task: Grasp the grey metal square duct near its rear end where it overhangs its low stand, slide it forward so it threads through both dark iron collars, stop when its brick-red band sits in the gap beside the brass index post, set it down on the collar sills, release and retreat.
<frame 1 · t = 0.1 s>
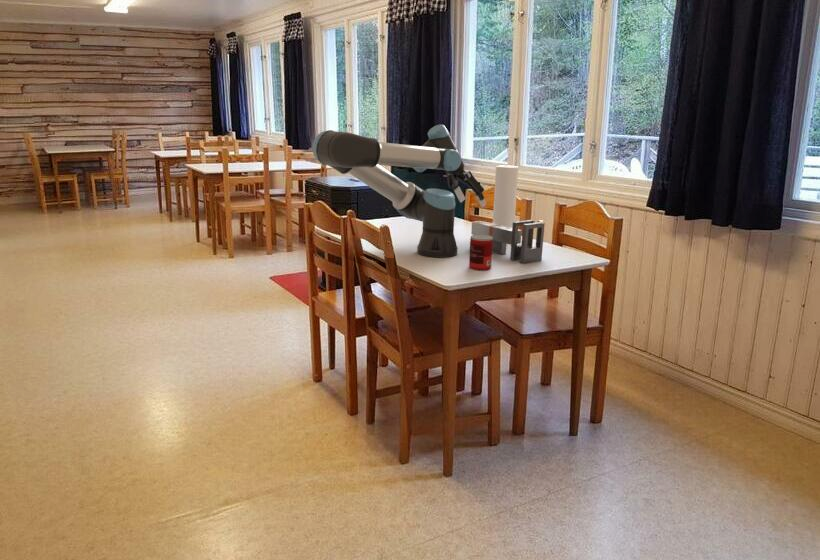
hand: (473, 203, 256), 15 cm above the table, tool tilted 35°, fingers open, 13 cm apart
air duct: (495, 238, 237), point 5 cm above the table, touching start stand
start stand: (493, 251, 239), on the table
collar stand: (525, 260, 225), on the table
canned food: (479, 268, 213), on the table
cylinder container: (502, 235, 270), on the table
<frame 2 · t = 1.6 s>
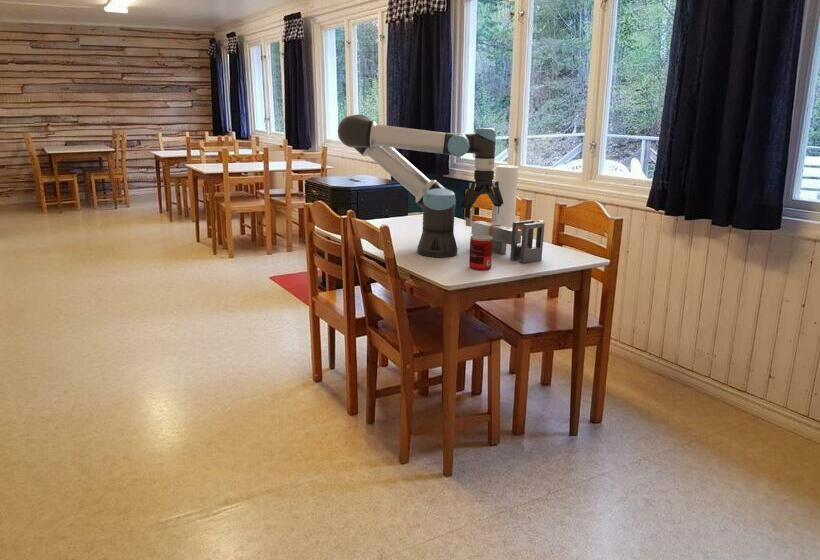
hand: (481, 224, 242), 9 cm above the table, tool pointing down, fingers open, 13 cm apart
nothing on the table moved.
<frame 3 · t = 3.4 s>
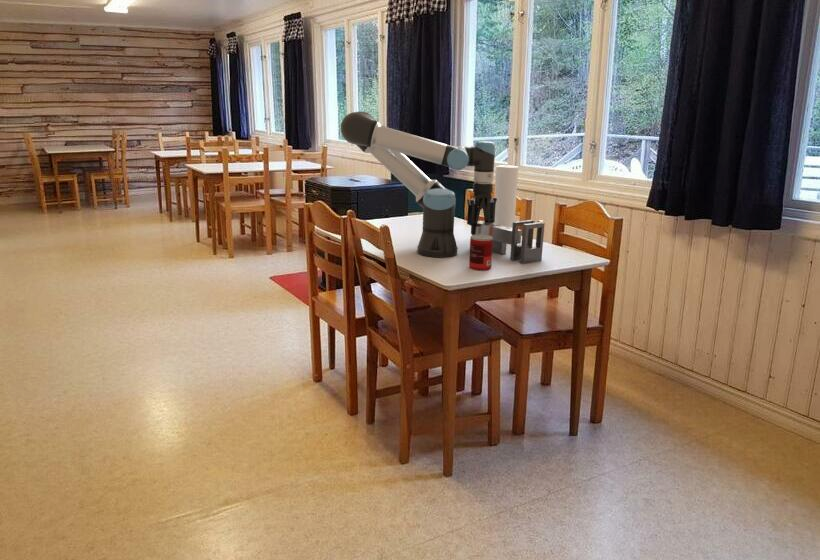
hand: (479, 241, 244), 2 cm above the table, tool pointing down, fingers closed on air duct, 5 cm apart
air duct: (495, 238, 237), point 5 cm above the table, touching gripper, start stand
everything else where it was.
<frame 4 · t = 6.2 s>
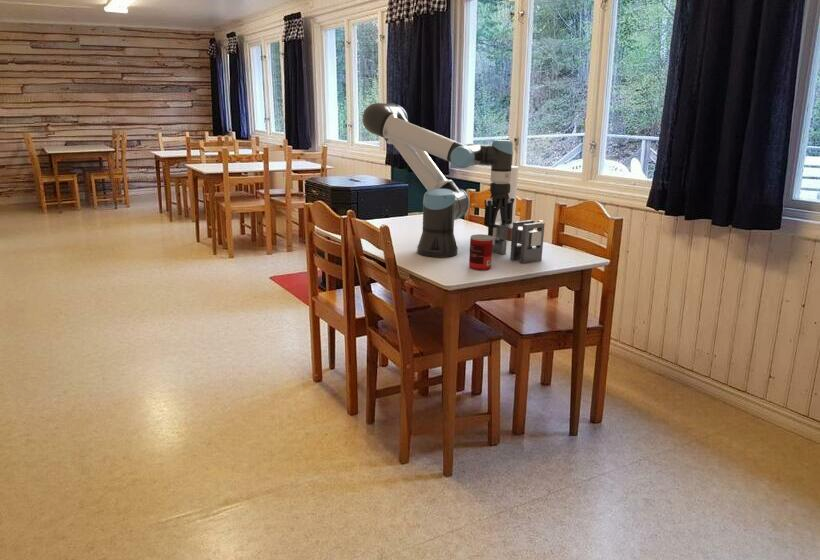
hand: (496, 243, 237), 3 cm above the table, tool pointing down, fingers closed on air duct, 5 cm apart
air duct: (513, 240, 229), point 6 cm above the table, touching gripper
everything else where it was.
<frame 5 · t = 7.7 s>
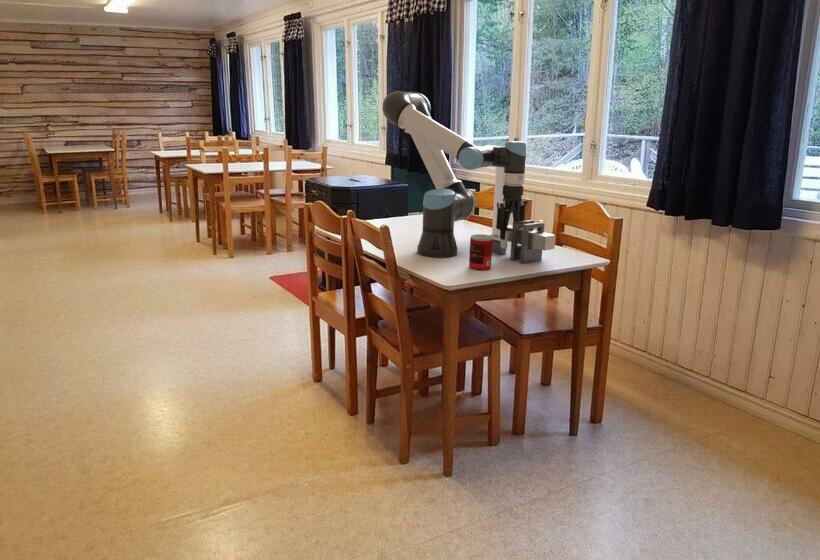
hand: (509, 246, 232), 3 cm above the table, tool pointing down, fingers closed on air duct, 5 cm apart
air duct: (526, 243, 224), point 6 cm above the table, touching gripper
everything else where it was.
when the fingers open (3 cm above the table, at t = 9.0 s): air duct stays where it is, resting on collar stand.
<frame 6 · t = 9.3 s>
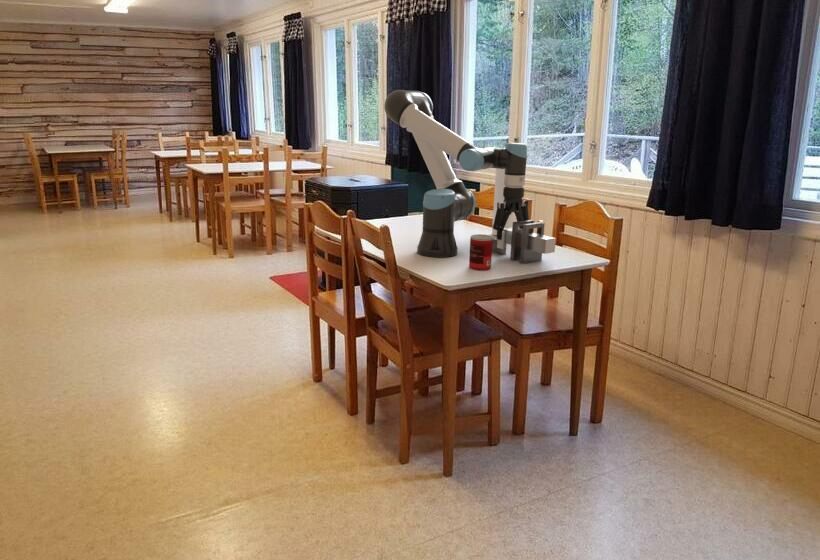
hand: (509, 246, 231), 3 cm above the table, tool pointing down, fingers open, 9 cm apart
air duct: (526, 246, 224), point 5 cm above the table, touching collar stand
everything else where it was.
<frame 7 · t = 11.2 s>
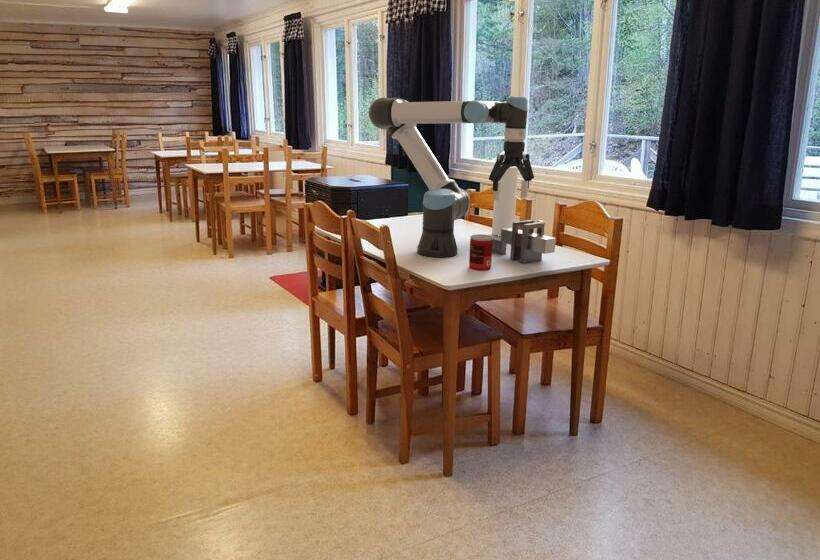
hand: (510, 199, 230), 21 cm above the table, tool pointing down, fingers open, 13 cm apart
nothing on the table moved.
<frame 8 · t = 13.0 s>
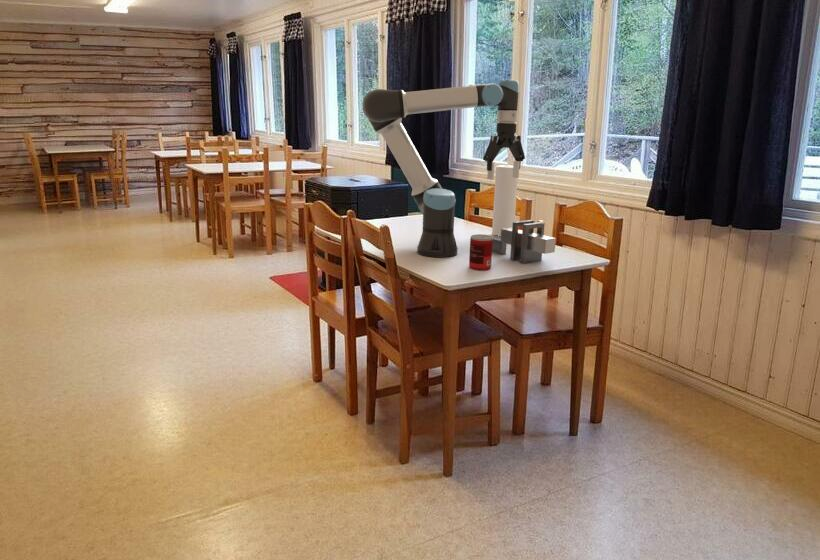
hand: (503, 178, 242), 27 cm above the table, tool pointing down, fingers open, 13 cm apart
nothing on the table moved.
at the end: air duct 0.1 cm off-centre on the collar stand, point 5.0 cm above the collar stand's base; the gripper is holding nothing; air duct tilted 0° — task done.
